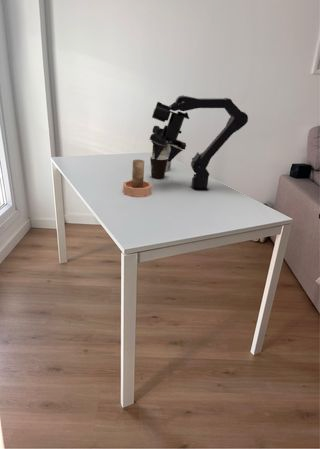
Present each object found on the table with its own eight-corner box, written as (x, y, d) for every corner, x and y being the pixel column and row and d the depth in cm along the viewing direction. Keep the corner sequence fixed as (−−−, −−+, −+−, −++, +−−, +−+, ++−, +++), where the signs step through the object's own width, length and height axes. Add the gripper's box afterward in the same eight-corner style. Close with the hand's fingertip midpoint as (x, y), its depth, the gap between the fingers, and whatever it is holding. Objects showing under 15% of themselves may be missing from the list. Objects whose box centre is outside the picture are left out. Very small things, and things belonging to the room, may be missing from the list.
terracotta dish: (148, 187, 145) (149, 179, 144) (153, 197, 134) (154, 189, 133) (121, 187, 143) (121, 179, 141) (124, 197, 132) (124, 189, 130)
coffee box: (150, 168, 174) (152, 138, 167) (156, 166, 179) (158, 137, 172) (164, 172, 169) (167, 141, 163) (171, 170, 174) (173, 140, 168)
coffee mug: (164, 180, 156) (166, 160, 152) (147, 178, 157) (148, 158, 153) (168, 174, 166) (170, 155, 162) (152, 172, 168) (153, 153, 163)
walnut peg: (143, 189, 140) (145, 160, 135) (141, 193, 136) (143, 162, 130) (133, 188, 141) (134, 159, 135) (130, 191, 136) (131, 161, 131)
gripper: (174, 124, 148) (163, 156, 154) (147, 116, 134) (135, 151, 139) (192, 131, 142) (179, 165, 147) (165, 124, 128) (152, 160, 133)
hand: (162, 160), depth 142 cm, fingers open, 9 cm apart
